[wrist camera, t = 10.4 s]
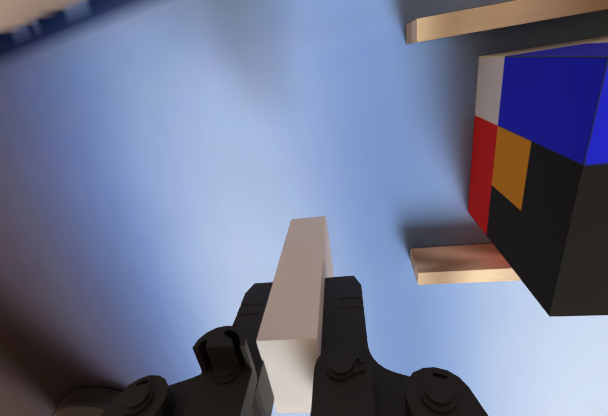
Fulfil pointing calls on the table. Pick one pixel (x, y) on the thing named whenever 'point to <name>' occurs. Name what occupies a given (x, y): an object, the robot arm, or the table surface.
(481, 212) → the puzzle toy
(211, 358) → the robot arm
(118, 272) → the table surface
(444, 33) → the wooden open frame
